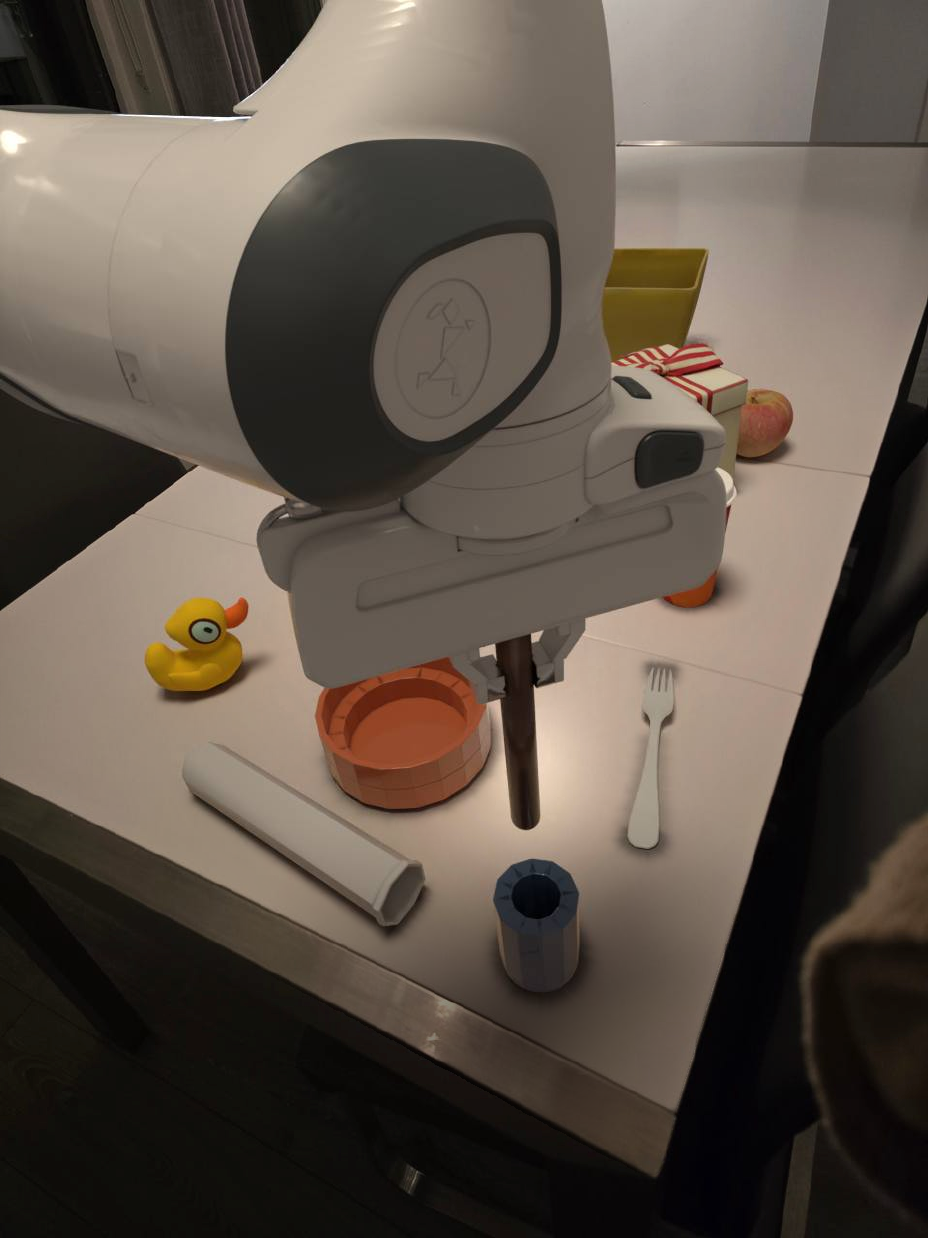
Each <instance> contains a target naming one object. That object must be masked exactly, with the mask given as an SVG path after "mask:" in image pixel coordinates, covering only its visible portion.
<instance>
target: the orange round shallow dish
mask: <svg viewBox="0 0 928 1238" xmlns="http://www.w3.org/2000/svg"><path fill="white" fill-rule="evenodd" d="M314 719H315V723H316V727H317V731H318V736H319V739H320V743H321V745H322V748H323V751H324V754H325V758H326V761H327V764H328V767H329V770H330V773H331V775H332V777H333V778H334V780H335V781H336V782H337V784H338V785H339V786H340V787H341V788H342V790H343V791H344V792H345V793H347V794H348V795H350V796H352V797H354V798H355V799H357V800H358V801H360V802H362V803H363V804H366V805H370V806H375V807H379V808H384V809H387V810H398V809H416V808H421V807H425V806H428V805H430V804H434V803H437V802H440V801H444V800H446V799H448V798H449V797H450V796H452V795H454V794H455V793H457V792H459V791H460V790H462V789H463V788H465V787H466V786H468V785H469V783H470V782H471V781H472V780H473V779H474V778H475V777H476V776H477V774H478V773H479V772H480V771H481V770H482V768H484V765H485V763H486V760H487V758H488V755H489V752H490V751H491V748H492V731H491V730H492V727H491V717H490V708H489V703H486V704H483V705H480V706H479V705H478V704H477V702H476V700H475V697H474V695H473V693H472V691H471V688H470V684H469V680H468V679H467V678H465V677H464V676H463V675H462V674H461V673H459V672H458V671H457V670H456V669H455V668H453V666H452V664H451V662H450V659H449V657H445V658H442V659H438V660H435V661H431V662H427V663H424V664H420V665H417V666H413V667H409V668H406V669H402V670H398V671H395V672H391V673H388V674H384V675H381V676H377V677H373V678H370V679H366V680H363V681H359V682H356V683H352V684H349V685H345V686H341V687H338V688H332V689H328V688H325V687H323V689H322V691H321V692H320V694H319V696H318V699H317V705H316V709H315V714H314Z"/></svg>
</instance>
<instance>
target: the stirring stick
mask: <svg viewBox="0 0 928 1238" xmlns="http://www.w3.org/2000/svg"><path fill="white" fill-rule="evenodd" d="M532 643H533V642H532V634H528V635H525V636H521V637H517V638H514V639H510V640H507V641H503V642H499V643H496V644H494V649H495V659H496V661H497V667H499V668H500V669H501V671H502V673H503V675H504V677H505V687H504V689H505V691H506V697H505V698H502V699H499V702H500V703H499V704H500V713H501V726H502V734H503V746H504V748H503V749H504V758H505V768H506V778H507V779H506V780H507V789H508V790H507V791H508V801H509V811H510V812H509V813H510V819H511V822H512V824H513V825H514V826H515V827H516V828H517V829H519V830H522V831H531V830H533V829H534V828H536V827H537V826H538V825H539V823H540V821H541V816H542V815H541V798H540V779H539V778H540V775H539V761H538V759H539V758H538V743H537V742H538V740H537V721H536V719H537V718H536V699H535V686H534V680H533V661H532Z"/></svg>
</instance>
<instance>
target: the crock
mask: <svg viewBox="0 0 928 1238" xmlns="http://www.w3.org/2000/svg"><path fill="white" fill-rule="evenodd" d="M496 880H497V881H496V883H495V887H494V892H493V897H492V904H493V911H494V920H495V925H496V933H497V942H498V949H499V955H500V957H501V960H502V961H501V962H502V965H503V968H504V970H505V973H506V974H507V976H508V977H509V978H510V979H511V981H513V982H514V984H516V985H517V986H518V987H520V988H522V989H524V990H526V991H529V992H533V993H539V994H540V993H550V992H553V991H556V990H558V989H560V988H562V987H563V986H565V985H566V984H568V982H569V981H570V980H571V979H572V978H573V976H574V975H575V973H576V971H577V969H578V966H579V965H578V964H579V958H580V957H579V956H580V947H581V946H580V941H581V940H580V891H579V888H578V887H577V884H576V882H575V880H574V878H573V875H572V874H571V873H570V872H569V871H568V870H566V869H565V868H564V867H562V866H560V865H559V864H558V863H556V862H555V861H552V860H546V859H541V858H540V859H539V858H533V857H532V858H527V859H525V860H521V861H518V862H515V863H513V864H511V865H509V867H507V868H506V870H505V871H504V872H503V873H502V874H501V875H500V876H499V877H498V878H497V879H496Z"/></svg>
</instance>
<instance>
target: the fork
mask: <svg viewBox="0 0 928 1238" xmlns="http://www.w3.org/2000/svg"><path fill="white" fill-rule="evenodd" d="M654 674H655V667H652V668H651V670H650V672H649V674H648V677H647V679H646V682H645V686H644V690H643V692H642V698H641V707H642V710H643V712H644V713H645V714H646V715H647V717H648V719H649V732H648V733H649V734H648V741H647V748H646V753H645V759H644V764H643V769H642V773H641V778H640V781H639V785H638V788H637V791H636V795H635V798H634V800H633V805H632V808H631V811H630V816H629V820H628V828H627V836H626V837H627V840H628V841H629V843H630V844H631V845H633V847H635V848H640V849H645V850H649V849H652V848H654V847H655V846H657V844H658V843H659V835H660V826H661V825H660V824H661V823H660V799H659V787H658V785H659V783H658V762H659V761H658V759H659V745H660V732H661V726H662V722H664V719H665V718H666V717H668V716H670V714H671V713H672V711H673V709H674V704H675V703H674V702H675V692H674V678H673V677H674V676H673V672H672V669H669V673H668V678H667V674H666V668H663V671H662V673H661V668H660V667H658V669H657V672H656V674H655V678H654ZM661 674H662V675H661ZM660 676H661V677H660ZM660 679H661V680H660ZM667 679H668V680H667ZM653 681H654V682H653ZM666 684H667V685H666Z"/></svg>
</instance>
